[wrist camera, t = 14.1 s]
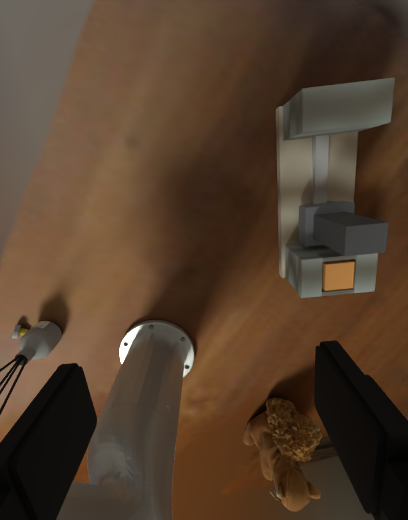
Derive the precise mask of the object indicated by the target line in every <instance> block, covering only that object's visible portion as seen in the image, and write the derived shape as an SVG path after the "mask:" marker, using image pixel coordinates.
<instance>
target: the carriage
mask: <svg viewBox="0 0 408 520" xmlns="http://www.w3.org/2000/svg"><path fill="white" fill-rule="evenodd" d="M354 208H355V203H354V202H348V201H339V202H335V201H327V203H320V204H311V203H308V204H304V205H301V206H299V243H301V244H302V245H304V246H305V247H308V246H318V245H325V246H327V247H329V248H331V249H332V250H334V251H336V252H338V253H339V254H341V255H343V256H354V255H364V254H375V253H385V251H386V242H387V232H388V222H385V221H381V220H377V219H373V218H369V217H365V216H361V215H357V214H354Z"/></svg>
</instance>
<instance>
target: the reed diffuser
mask: <svg viewBox="0 0 408 520" xmlns="http://www.w3.org/2000/svg"><path fill="white" fill-rule="evenodd" d="M18 336H22V338H21V339H20V342H19V348H20V352H19V353H18V354H17V355H16V356H15V359H13V360H12V361H11V362H9V363H8V364H7V365H5V366H4V367H3V368H1V369H0V372H1V371H2V370H3V369H5V368H6V367H7V366H9V365H10V364H11V363H13V362H14V361H16V363H15V364H14V365H13V367H12V368H11V369H10V371H9V372H8V373H7V375H6V376H5V377H4V378H3V380H2V381H1V382H0V386H1V385H2V383H3V382H4V381H5V379H6V378H7V377H8V375H9V374H10V373H11V371H12V370H13V369H14V370H13V371H12V373H11V374H10V376H9V378H8V379H7V381H6V382H5V384H4V385H3V387H2V389H1V390H0V394H1V393H2V391H3V389H4V388H5V386H6V385H7V383H8V382H9V380H10V378H11V377H12V375H13V374H14V372H15V370H16V369H17V367H18V366H19V365H22V367H21V369H20V371H19V373H18V375H17V377H16V379H15V381H14V383H13V385H12V387H11V389H10V391H9V393H8V395H7V397H6V399H5V401H4V403H3V405H2V407H1V409H0V415H1V413H2V411H3V409H4V407H5V404H6V402H7V400H8V398H9V396H10V394H11V392H12V390H13V388H14V386H15V384H16V382H17V380H18V378H19V376H20V374H21V372H22V370H23V368H24V366H25V365H26V364H27V363H28V362H29V361H30V360H31V359H42V358H44V357H46V356H47V355H48V354H50V352H51V351H52V350H53V349H54V348H55V346H56V345H57V344H58V342H59V341H60V340H61V337H62V333H61V330H60V328H59V327H58V326H57V325H56V324H54V323H52V322H49V321H40V322H38V323H37V324H36V325H34V326H33V327H32V328H31V329H30V330H29V331H28V329H22V328H21V325H16V327H15V330H14V333H13V336H12V338H16V339H17V338H18ZM15 366H16V367H15ZM14 367H15V368H14Z"/></svg>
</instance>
